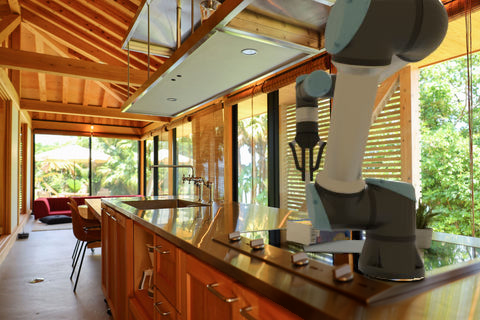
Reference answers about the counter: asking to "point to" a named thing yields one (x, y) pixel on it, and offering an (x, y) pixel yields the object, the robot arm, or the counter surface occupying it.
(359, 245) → the light grey flat slab
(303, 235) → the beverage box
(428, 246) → the house plant
